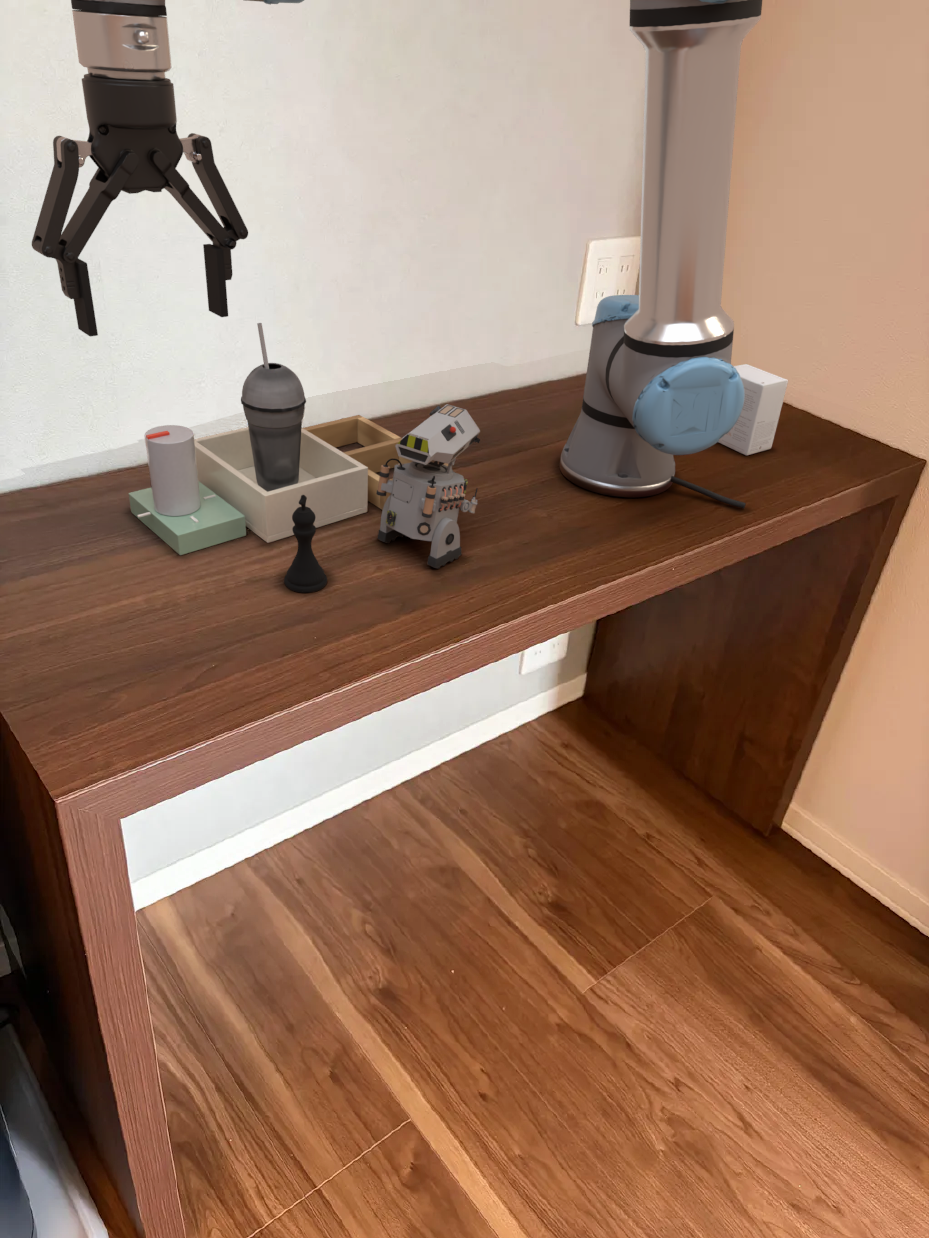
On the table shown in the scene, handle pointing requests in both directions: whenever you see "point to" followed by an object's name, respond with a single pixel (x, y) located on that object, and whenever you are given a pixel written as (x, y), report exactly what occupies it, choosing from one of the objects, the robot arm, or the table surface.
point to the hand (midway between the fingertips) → (156, 323)
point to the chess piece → (304, 554)
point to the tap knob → (173, 470)
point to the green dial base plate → (191, 521)
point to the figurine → (429, 484)
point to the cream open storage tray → (322, 479)
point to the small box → (756, 411)
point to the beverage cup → (274, 421)
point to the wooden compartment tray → (372, 455)
